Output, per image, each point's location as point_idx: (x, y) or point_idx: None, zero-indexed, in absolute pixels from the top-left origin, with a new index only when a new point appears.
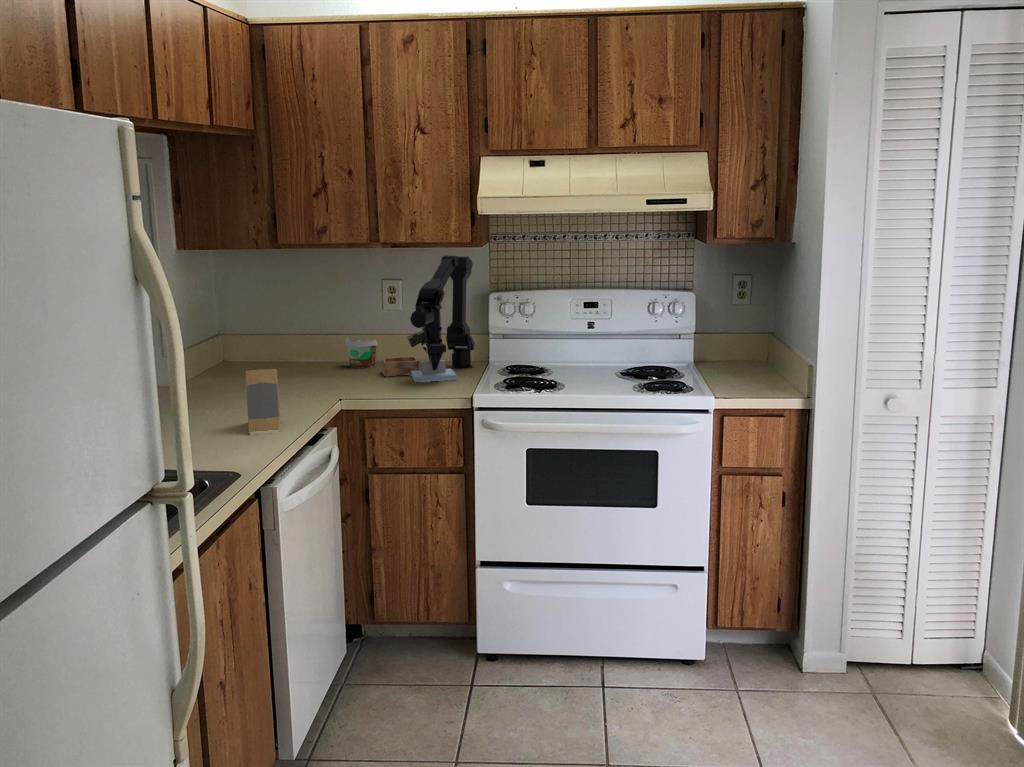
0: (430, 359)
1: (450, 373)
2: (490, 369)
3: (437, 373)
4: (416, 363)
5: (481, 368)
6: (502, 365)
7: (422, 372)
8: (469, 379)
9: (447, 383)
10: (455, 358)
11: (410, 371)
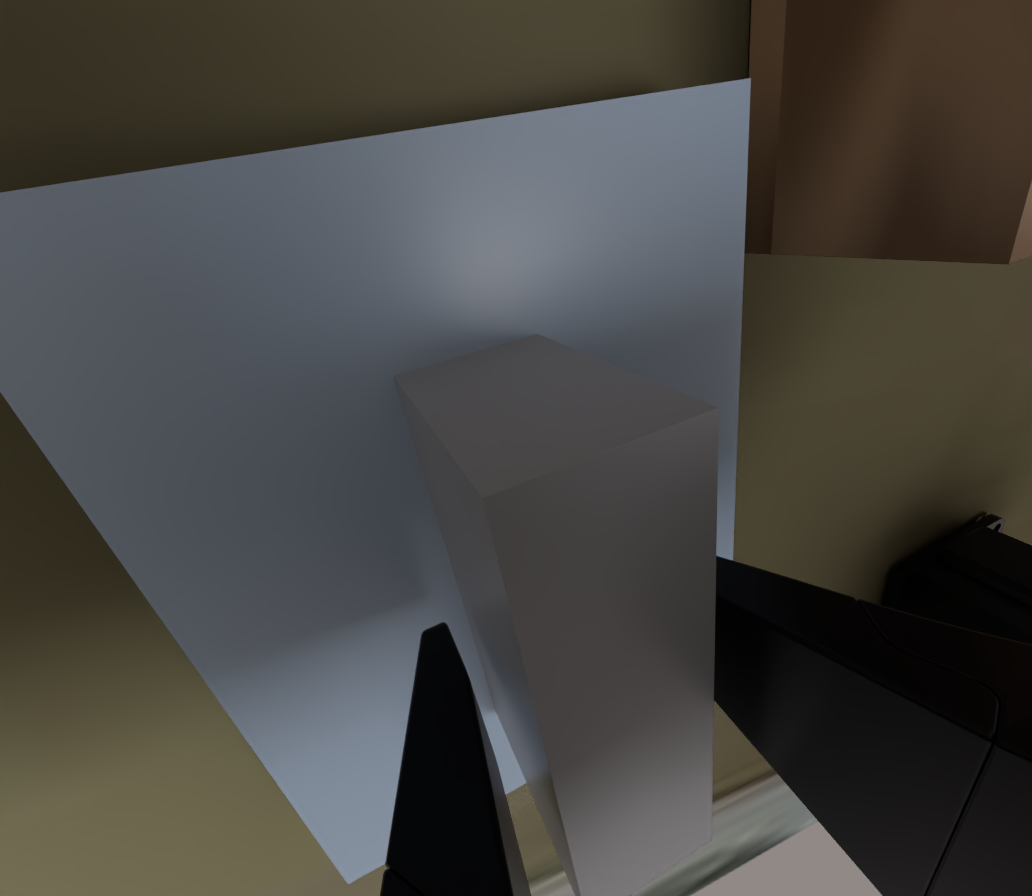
0: (771, 648)
1: None
2: (760, 800)
3: None
4: (952, 202)
5: None
6: None
7: (403, 390)
8: None
9: (78, 800)
10: (1006, 616)
11: (810, 76)
